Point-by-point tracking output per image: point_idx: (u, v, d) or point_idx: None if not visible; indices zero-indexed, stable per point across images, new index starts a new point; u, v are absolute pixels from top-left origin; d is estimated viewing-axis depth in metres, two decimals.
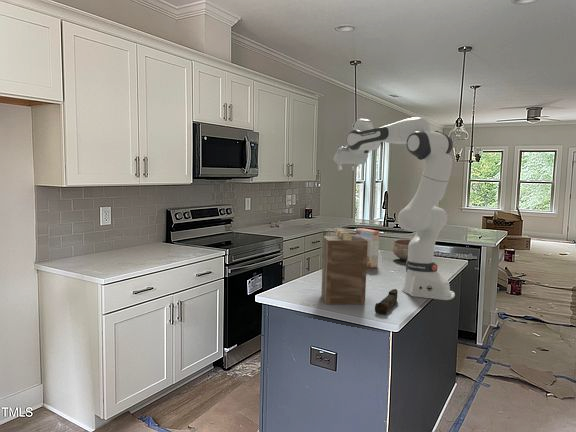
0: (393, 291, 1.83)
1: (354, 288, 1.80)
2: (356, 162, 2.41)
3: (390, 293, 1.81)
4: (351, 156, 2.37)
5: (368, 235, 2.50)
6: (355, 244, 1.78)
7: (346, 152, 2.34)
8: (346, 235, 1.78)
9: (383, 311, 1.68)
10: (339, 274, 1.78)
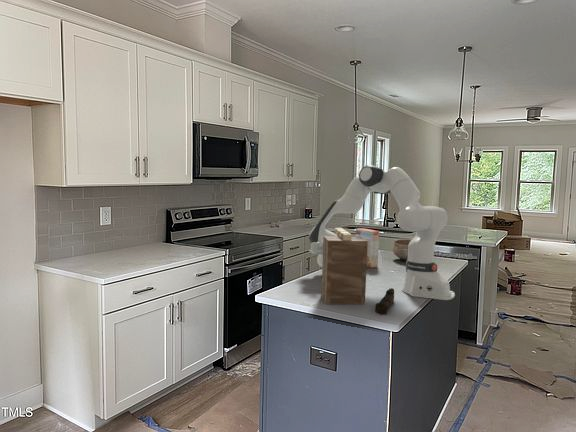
0: (390, 290, 1.83)
1: (354, 288, 1.80)
2: None
3: (388, 292, 1.82)
4: None
5: (368, 235, 2.50)
6: (355, 244, 1.78)
7: None
8: (346, 235, 1.78)
9: (383, 310, 1.68)
10: (339, 274, 1.78)
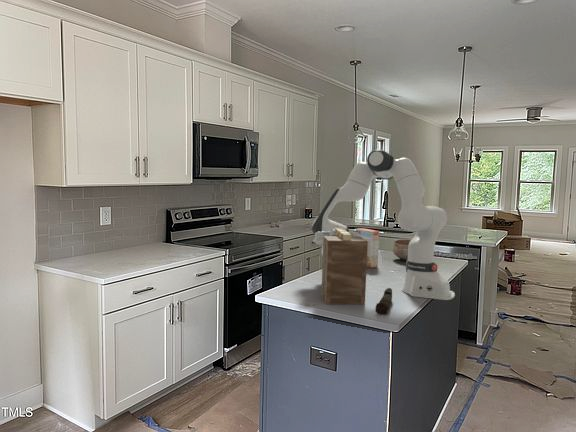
0: (388, 290, 1.84)
1: (354, 288, 1.80)
2: None
3: (386, 292, 1.82)
4: None
5: (368, 235, 2.50)
6: (355, 244, 1.78)
7: None
8: (346, 235, 1.78)
9: (384, 310, 1.68)
10: (339, 274, 1.78)
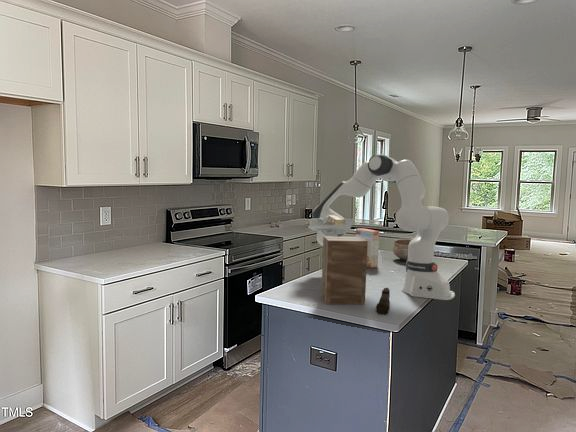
0: (386, 290, 1.84)
1: (354, 288, 1.80)
2: None
3: (384, 292, 1.82)
4: None
5: (368, 235, 2.50)
6: (355, 244, 1.78)
7: None
8: (338, 220, 1.94)
9: (385, 310, 1.68)
10: (339, 274, 1.78)
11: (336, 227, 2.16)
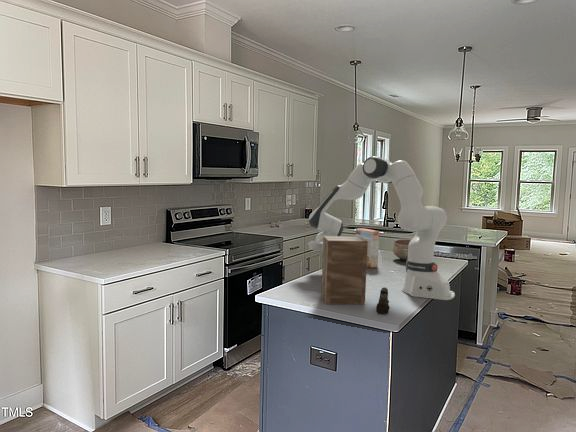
0: (384, 290, 1.84)
1: (354, 288, 1.80)
2: None
3: (382, 292, 1.83)
4: None
5: (368, 235, 2.50)
6: (355, 244, 1.78)
7: (316, 240, 2.22)
8: None
9: (385, 310, 1.68)
10: (339, 274, 1.78)
11: None
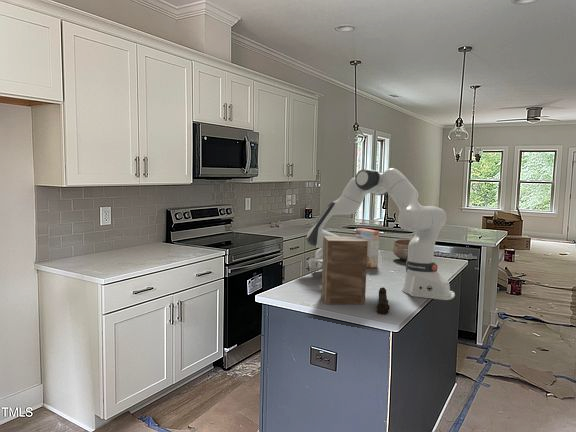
0: (383, 290, 1.85)
1: (354, 288, 1.80)
2: None
3: (381, 292, 1.83)
4: None
5: (368, 235, 2.50)
6: (355, 244, 1.78)
7: (316, 258, 2.23)
8: None
9: (385, 310, 1.68)
10: (339, 274, 1.78)
11: None
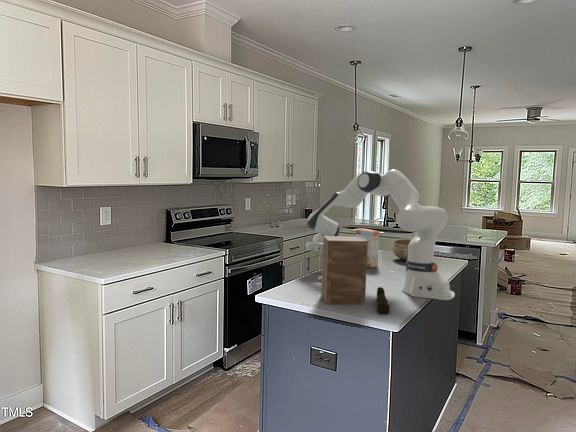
0: (381, 289, 1.85)
1: (354, 288, 1.80)
2: None
3: (379, 292, 1.83)
4: (322, 242, 2.32)
5: (368, 235, 2.50)
6: (355, 244, 1.78)
7: None
8: None
9: (386, 310, 1.68)
10: (339, 274, 1.78)
11: None
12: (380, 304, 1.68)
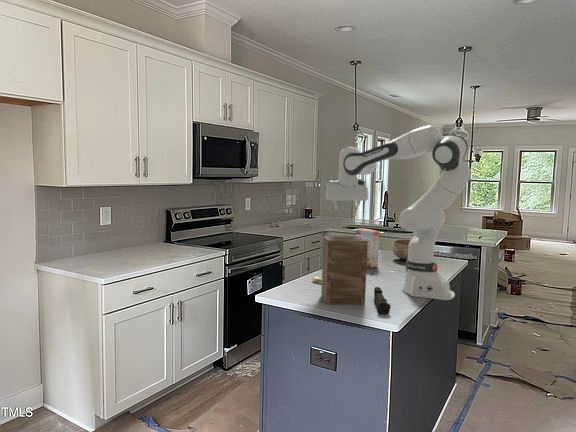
0: (378, 289, 1.85)
1: (354, 288, 1.80)
2: (354, 198, 2.12)
3: (377, 291, 1.83)
4: (345, 191, 2.12)
5: (368, 235, 2.50)
6: (355, 244, 1.78)
7: (336, 186, 2.11)
8: None
9: (386, 310, 1.68)
10: (339, 274, 1.78)
11: None
12: (381, 304, 1.68)
